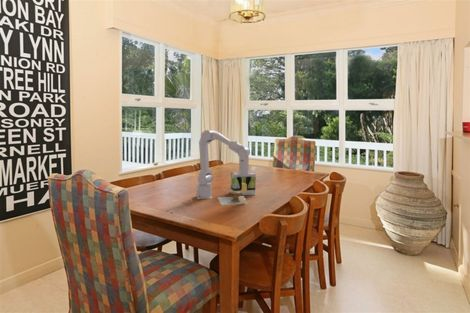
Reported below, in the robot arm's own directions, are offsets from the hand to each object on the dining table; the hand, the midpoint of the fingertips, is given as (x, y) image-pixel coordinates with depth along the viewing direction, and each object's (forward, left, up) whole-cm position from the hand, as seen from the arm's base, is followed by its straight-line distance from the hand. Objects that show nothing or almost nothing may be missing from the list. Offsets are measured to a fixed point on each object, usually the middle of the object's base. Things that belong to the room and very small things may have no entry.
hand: (243, 189), depth 192 cm
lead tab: (0, 0, -2) cm, 2 cm away
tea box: (+4, +21, -9) cm, 23 cm away
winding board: (-6, +4, -8) cm, 11 cm away
